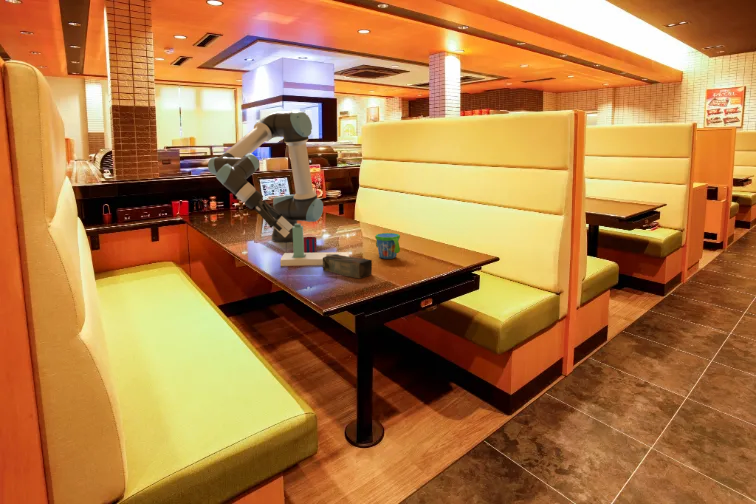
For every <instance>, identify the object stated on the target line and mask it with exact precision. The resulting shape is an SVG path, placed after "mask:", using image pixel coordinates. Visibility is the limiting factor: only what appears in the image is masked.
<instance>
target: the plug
mask: <svg viewBox="0 0 756 504" xmlns="http://www.w3.org/2000/svg"><path fill="white" fill-rule="evenodd" d="M292 229H293V241H292V245H293V246H292V248H293V250H292V251H293V253H294V258H304V237H305V236H304V225H302V223H297V224H295V226H293V228H292Z"/></svg>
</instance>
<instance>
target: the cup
mask: <svg viewBox="0 0 756 504" xmlns="http://www.w3.org/2000/svg"><path fill="white" fill-rule="evenodd" d="M303 237H304V253H317V251H318V247H317V246H318V244H317V237H316V236H303Z"/></svg>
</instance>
